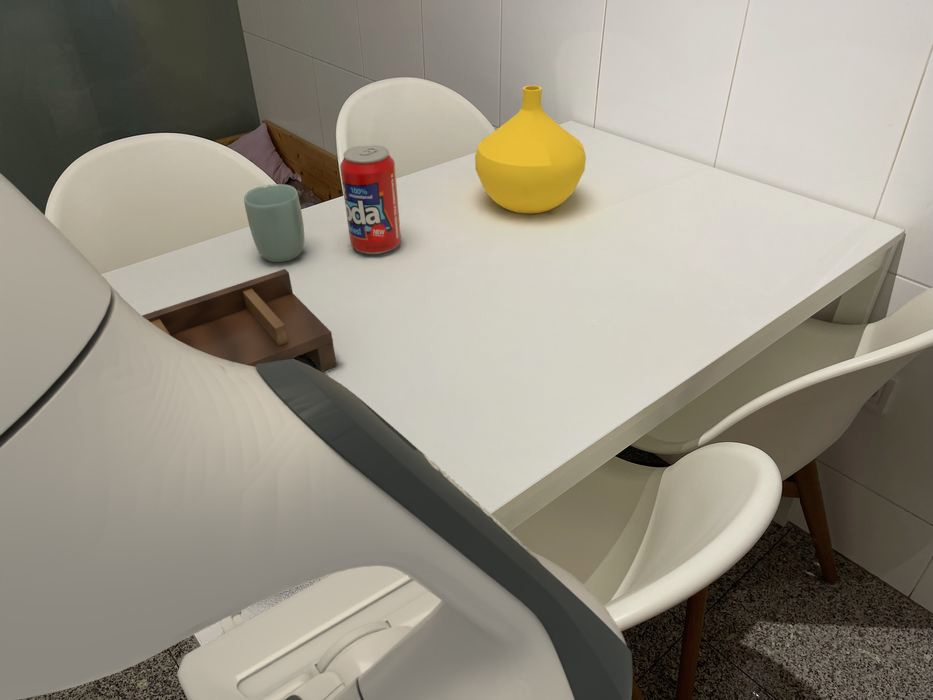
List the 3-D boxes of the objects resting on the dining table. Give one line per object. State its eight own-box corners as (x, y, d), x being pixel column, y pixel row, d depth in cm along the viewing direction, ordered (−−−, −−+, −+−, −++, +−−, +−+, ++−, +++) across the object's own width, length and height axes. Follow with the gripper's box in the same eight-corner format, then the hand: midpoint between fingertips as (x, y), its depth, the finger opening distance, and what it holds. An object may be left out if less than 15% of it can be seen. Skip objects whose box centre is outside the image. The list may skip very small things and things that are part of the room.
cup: (255, 248, 109) (241, 188, 103) (305, 240, 111) (295, 180, 105) (258, 272, 103) (244, 209, 97) (311, 263, 105) (301, 201, 99)
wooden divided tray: (150, 442, 74) (127, 383, 69) (122, 384, 82) (99, 328, 77) (337, 365, 84) (327, 310, 79) (295, 321, 92) (285, 268, 87)
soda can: (411, 241, 110) (404, 148, 101) (380, 262, 104) (369, 166, 95) (373, 230, 113) (362, 139, 104) (340, 249, 108) (327, 155, 99)
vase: (453, 204, 120) (449, 91, 109) (520, 172, 131) (522, 66, 120) (538, 236, 110) (543, 114, 99) (602, 198, 121) (614, 85, 110)
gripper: (509, 584, 47) (403, 465, 56) (213, 776, 38) (144, 595, 47) (507, 637, 51) (408, 517, 60) (237, 823, 42) (169, 647, 51)
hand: (290, 552), depth 54 cm, fingers open, 8 cm apart
